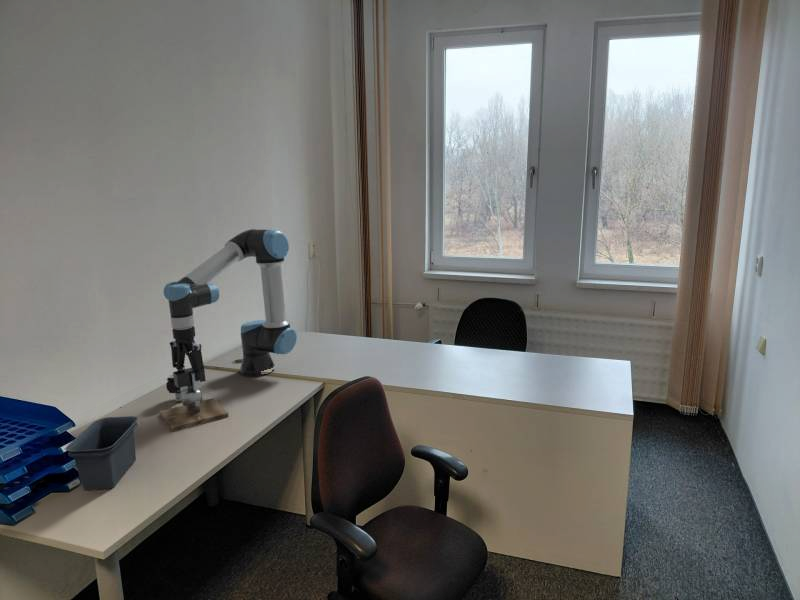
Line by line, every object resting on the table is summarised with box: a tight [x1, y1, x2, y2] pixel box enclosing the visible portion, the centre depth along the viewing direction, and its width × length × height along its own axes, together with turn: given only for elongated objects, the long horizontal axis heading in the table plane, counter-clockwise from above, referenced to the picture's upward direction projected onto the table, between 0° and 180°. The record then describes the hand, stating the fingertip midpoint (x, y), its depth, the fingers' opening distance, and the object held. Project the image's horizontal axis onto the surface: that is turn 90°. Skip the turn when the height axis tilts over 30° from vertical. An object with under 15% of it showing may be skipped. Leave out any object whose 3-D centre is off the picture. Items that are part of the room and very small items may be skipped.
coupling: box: [172, 367, 206, 406], centre depth 205 cm, size 10×10×13 cm
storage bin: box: [65, 415, 139, 491], centre depth 166 cm, size 21×16×14 cm
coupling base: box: [159, 397, 229, 432], centre depth 207 cm, size 20×18×5 cm
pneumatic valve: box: [165, 373, 187, 402], centre depth 222 cm, size 6×12×12 cm, turn 169°
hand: (190, 387), depth 205 cm, fingers open, 6 cm apart
